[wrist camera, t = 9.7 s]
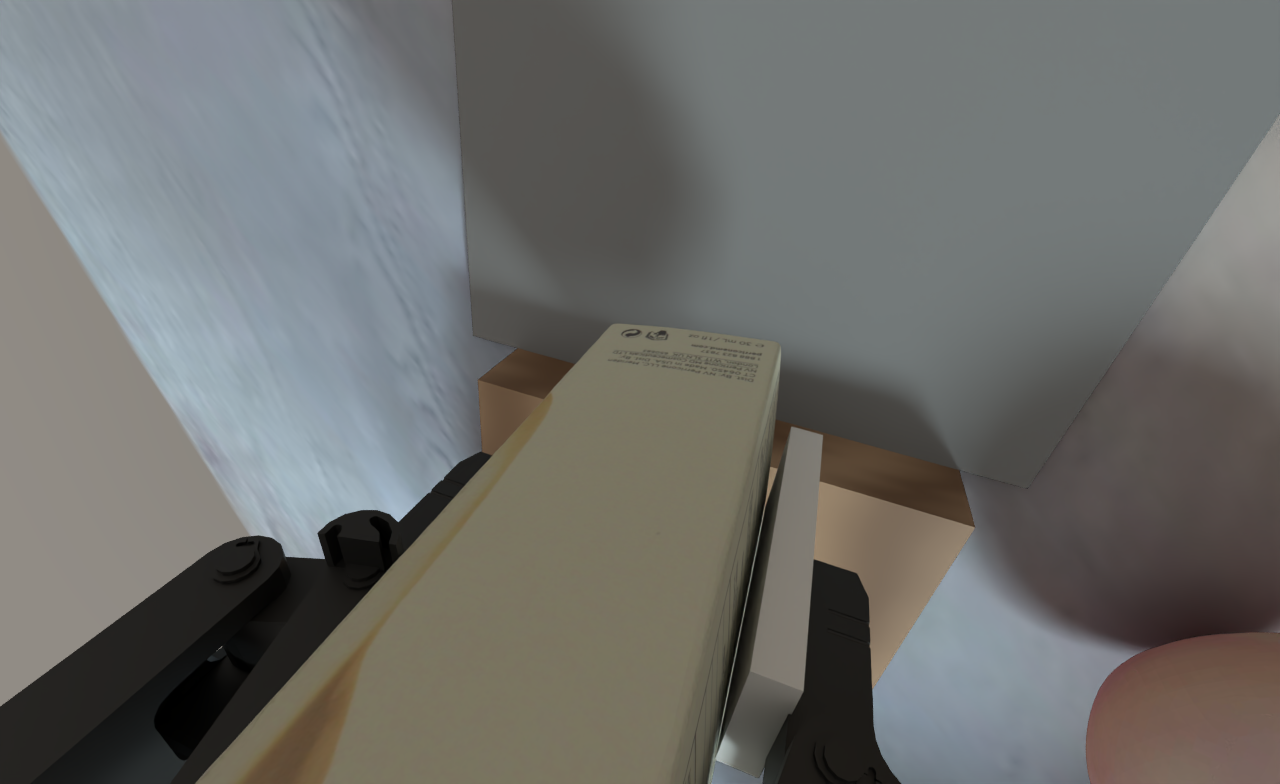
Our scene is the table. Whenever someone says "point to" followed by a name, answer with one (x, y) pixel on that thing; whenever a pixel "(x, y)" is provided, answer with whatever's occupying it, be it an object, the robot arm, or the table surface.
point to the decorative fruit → (1190, 714)
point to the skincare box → (556, 593)
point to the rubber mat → (859, 191)
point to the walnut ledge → (847, 503)
